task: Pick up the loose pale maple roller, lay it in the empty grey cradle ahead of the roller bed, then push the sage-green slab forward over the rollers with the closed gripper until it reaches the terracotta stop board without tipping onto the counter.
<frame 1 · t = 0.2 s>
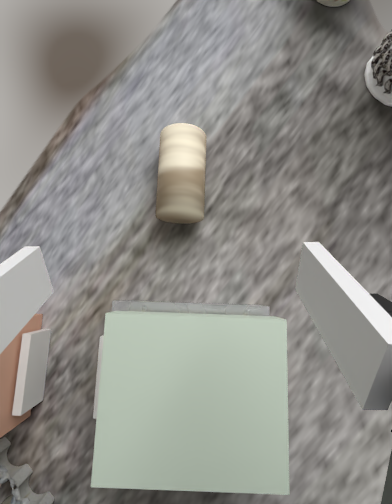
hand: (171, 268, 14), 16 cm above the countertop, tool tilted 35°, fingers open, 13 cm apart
roller bed: (184, 368, 28), on the countertop
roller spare: (182, 185, 31), on the countertop
roller cradle: (78, 365, 28), on the countertop
egg carton: (7, 489, 26), on the countertop
slab: (193, 385, 23), point 5 cm above the countertop, touching roller bed
stop board: (29, 363, 28), on the countertop
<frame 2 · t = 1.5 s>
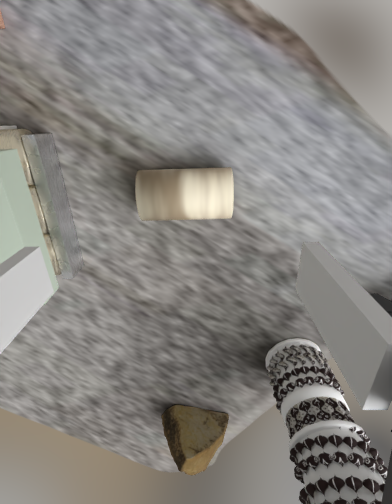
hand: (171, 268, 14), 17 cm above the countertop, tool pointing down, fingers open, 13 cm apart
roller bed: (8, 203, 30), on the countertop
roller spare: (186, 189, 29), on the countertop
rock: (196, 412, 46), on the countertop
decorative candle: (292, 357, 40), on the countertop
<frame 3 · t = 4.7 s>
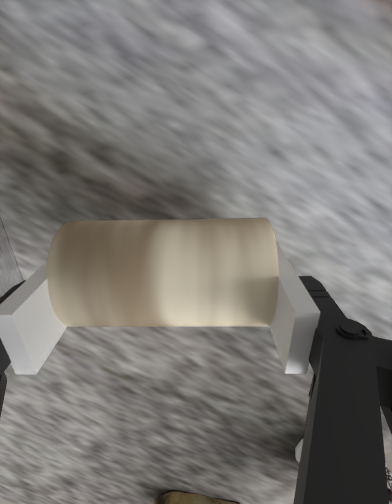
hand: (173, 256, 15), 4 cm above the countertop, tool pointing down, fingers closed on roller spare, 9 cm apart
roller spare: (174, 253, 15), point 4 cm above the countertop, tilted 6°, touching gripper
rock: (199, 499, 36), on the countertop
when the fingers open (0 cm above the countertop, at t = 9.9 s): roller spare stays where it is, on the countertop.
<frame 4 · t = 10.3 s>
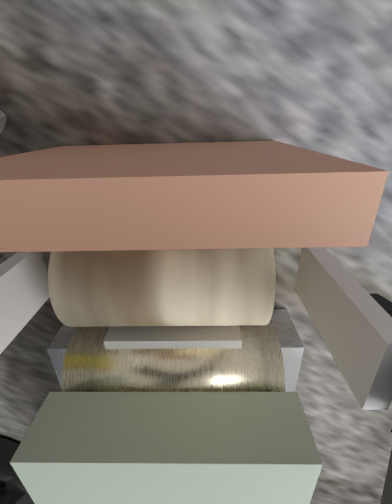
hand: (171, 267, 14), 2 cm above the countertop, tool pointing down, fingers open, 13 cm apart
roller bed: (183, 384, 20), on the countertop
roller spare: (173, 251, 15), on the countertop
roller cradle: (174, 253, 15), on the countertop
slab: (179, 469, 16), point 5 cm above the countertop, touching roller bed
stop board: (168, 159, 13), on the countertop
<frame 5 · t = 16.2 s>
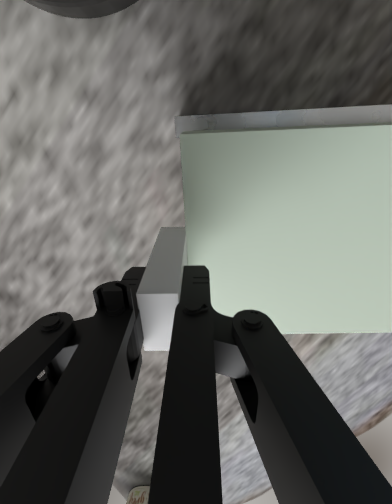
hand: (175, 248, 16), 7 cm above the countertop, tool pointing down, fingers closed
roller bed: (283, 205, 22), on the countertop
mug: (145, 498, 45), on the countertop
slab: (298, 229, 17), point 5 cm above the countertop, touching roller bed
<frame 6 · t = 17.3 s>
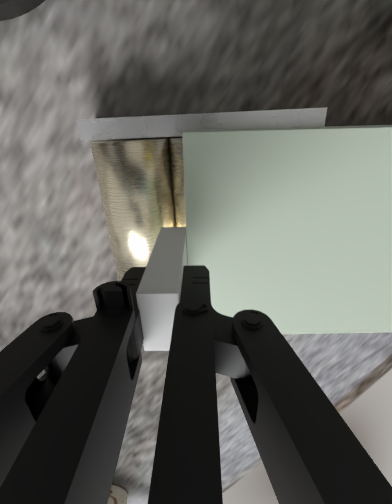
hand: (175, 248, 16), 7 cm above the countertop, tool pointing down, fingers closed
roller bed: (208, 207, 22), on the countertop
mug: (108, 497, 45), on the countertop
slab: (297, 229, 17), point 5 cm above the countertop, touching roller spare
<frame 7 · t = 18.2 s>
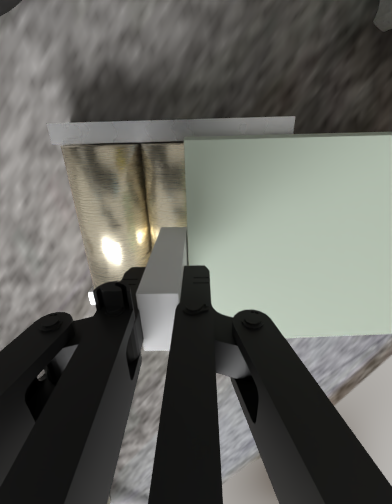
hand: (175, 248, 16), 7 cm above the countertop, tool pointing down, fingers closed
roller bed: (185, 212, 22), on the countertop
slab: (295, 234, 17), point 5 cm above the countertop, touching roller bed, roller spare
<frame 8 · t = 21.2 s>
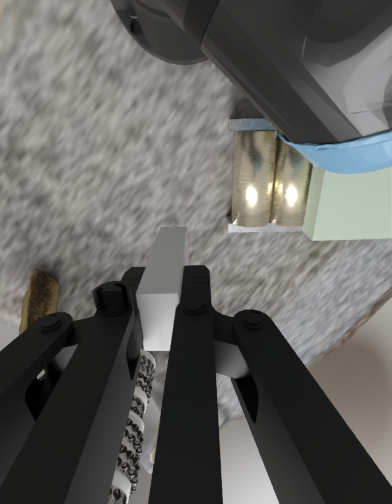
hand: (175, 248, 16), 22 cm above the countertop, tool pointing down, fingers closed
roller bed: (287, 174, 35), on the countertop
rock: (48, 299, 46), on the countertop
slab: (370, 181, 31), point 5 cm above the countertop, touching roller bed, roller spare
decorative candle: (134, 362, 52), on the countertop
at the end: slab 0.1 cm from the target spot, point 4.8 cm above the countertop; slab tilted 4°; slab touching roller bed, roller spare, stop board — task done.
